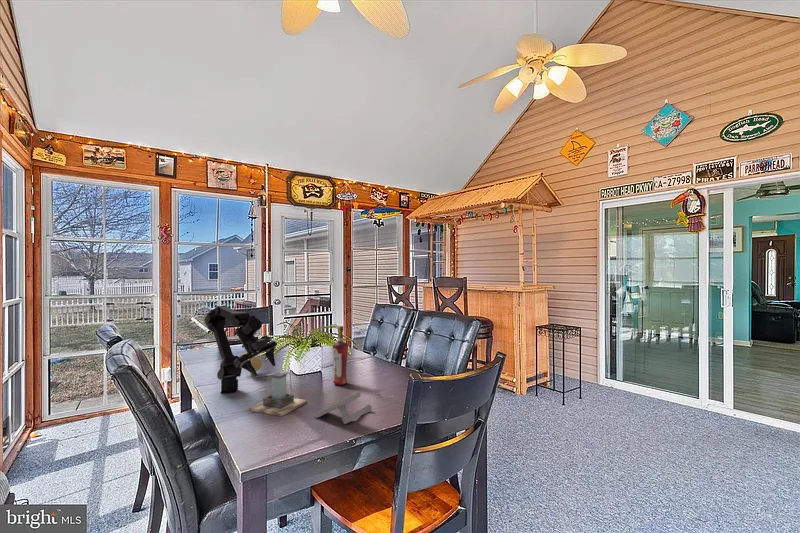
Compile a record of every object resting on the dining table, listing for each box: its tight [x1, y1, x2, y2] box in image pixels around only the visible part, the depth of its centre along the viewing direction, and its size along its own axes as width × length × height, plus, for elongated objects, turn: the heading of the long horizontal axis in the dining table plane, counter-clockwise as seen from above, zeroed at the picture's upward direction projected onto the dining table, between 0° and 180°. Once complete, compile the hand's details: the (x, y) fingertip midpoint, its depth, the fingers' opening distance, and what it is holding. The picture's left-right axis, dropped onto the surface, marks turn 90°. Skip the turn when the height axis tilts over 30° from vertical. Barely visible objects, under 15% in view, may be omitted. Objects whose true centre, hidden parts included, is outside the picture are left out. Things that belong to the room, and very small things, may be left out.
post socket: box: [248, 392, 308, 417], centre depth 158 cm, size 16×16×4 cm
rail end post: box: [270, 372, 287, 400], centre depth 158 cm, size 4×4×12 cm
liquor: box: [332, 325, 349, 386], centre depth 188 cm, size 7×7×28 cm
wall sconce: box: [241, 333, 263, 376], centre depth 203 cm, size 14×10×25 cm
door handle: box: [312, 391, 373, 425], centre depth 148 cm, size 18×8×20 cm
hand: (265, 370), depth 165 cm, fingers open, 9 cm apart
